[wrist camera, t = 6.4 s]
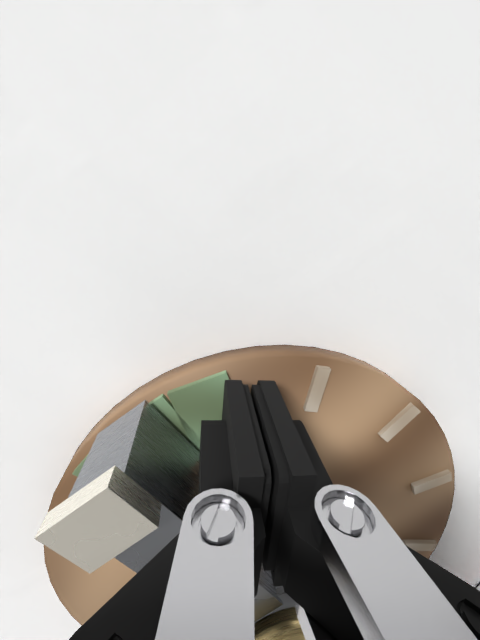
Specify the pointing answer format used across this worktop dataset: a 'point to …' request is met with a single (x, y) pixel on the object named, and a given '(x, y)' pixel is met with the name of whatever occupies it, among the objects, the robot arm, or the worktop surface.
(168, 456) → the pointer lever
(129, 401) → the dial plate
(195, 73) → the worktop surface
